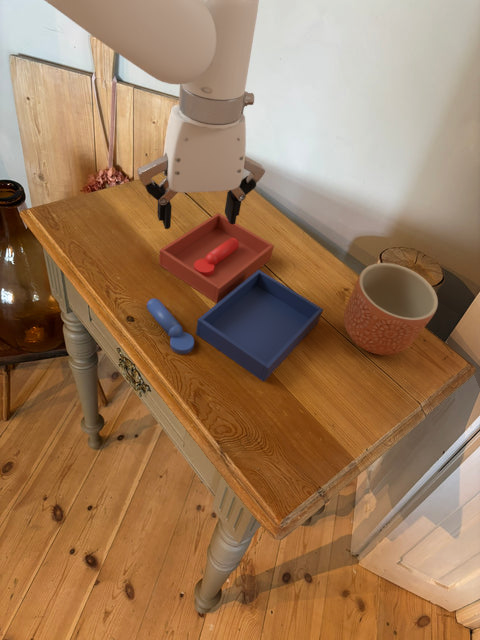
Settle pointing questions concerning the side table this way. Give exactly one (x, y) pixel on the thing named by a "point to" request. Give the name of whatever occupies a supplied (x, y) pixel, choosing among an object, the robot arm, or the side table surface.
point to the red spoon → (215, 257)
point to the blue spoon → (171, 327)
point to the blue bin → (259, 324)
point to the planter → (388, 308)
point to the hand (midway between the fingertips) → (198, 220)
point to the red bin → (227, 271)
